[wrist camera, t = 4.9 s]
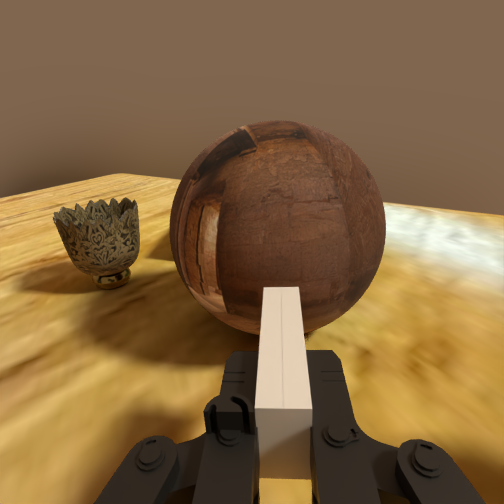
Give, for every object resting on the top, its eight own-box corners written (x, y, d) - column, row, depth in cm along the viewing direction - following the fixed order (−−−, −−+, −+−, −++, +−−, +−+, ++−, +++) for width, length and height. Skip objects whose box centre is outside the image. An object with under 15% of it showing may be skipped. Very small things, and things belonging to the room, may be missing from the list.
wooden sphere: (302, 263, 38) (303, 113, 32) (421, 337, 25) (457, 113, 20) (163, 302, 32) (133, 126, 26) (230, 423, 19) (199, 138, 14)
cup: (77, 275, 38) (57, 203, 35) (147, 262, 40) (134, 193, 37) (70, 308, 32) (44, 224, 29) (153, 291, 34) (138, 210, 31)
